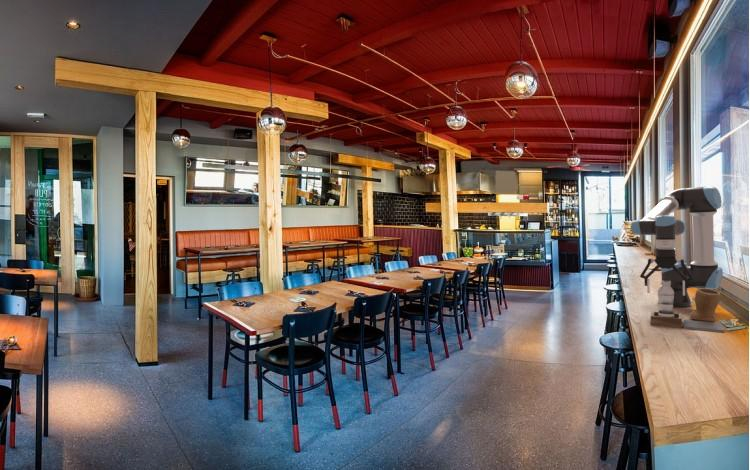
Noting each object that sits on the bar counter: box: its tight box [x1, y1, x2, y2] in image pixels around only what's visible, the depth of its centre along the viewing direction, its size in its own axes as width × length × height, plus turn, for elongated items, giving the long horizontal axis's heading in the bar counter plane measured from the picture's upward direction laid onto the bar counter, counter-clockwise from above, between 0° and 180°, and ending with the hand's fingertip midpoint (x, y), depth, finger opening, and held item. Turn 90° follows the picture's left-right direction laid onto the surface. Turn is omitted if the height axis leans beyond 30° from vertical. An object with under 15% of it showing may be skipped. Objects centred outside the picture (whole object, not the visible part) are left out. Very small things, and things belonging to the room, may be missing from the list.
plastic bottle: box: [657, 280, 675, 318], centre depth 196 cm, size 6×7×20 cm
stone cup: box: [688, 288, 722, 322], centre depth 201 cm, size 15×12×15 cm
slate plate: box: [682, 319, 725, 333], centre depth 189 cm, size 14×14×1 cm
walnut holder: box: [650, 310, 683, 329], centre depth 197 cm, size 12×12×4 cm
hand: (665, 294), depth 196 cm, fingers open, 13 cm apart
